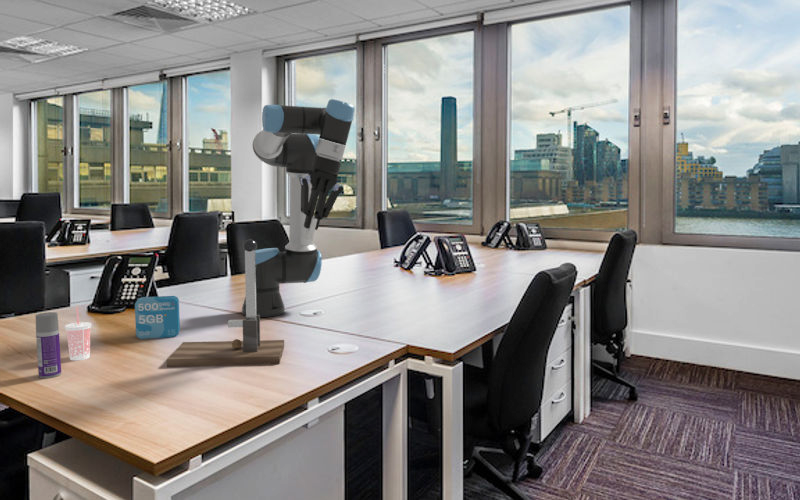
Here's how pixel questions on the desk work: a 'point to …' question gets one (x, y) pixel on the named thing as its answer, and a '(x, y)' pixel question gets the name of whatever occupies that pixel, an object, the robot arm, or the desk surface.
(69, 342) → the beverage cup
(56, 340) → the container
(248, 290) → the lever
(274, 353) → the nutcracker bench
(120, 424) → the desk surface
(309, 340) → the desk surface
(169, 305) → the data package
